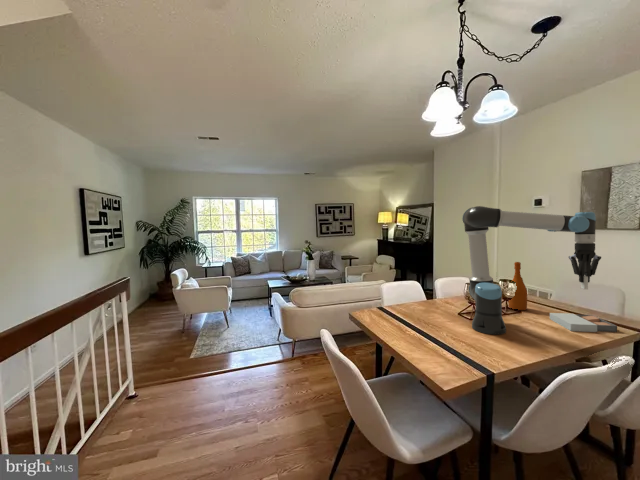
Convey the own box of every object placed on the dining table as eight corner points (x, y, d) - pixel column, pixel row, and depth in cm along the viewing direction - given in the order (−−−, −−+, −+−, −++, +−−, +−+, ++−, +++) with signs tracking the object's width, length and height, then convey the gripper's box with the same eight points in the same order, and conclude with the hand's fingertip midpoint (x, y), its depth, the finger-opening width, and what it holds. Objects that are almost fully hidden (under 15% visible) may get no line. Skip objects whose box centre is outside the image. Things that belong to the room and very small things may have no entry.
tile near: (612, 325, 135) (612, 329, 135) (605, 322, 140) (605, 326, 140) (600, 325, 137) (600, 329, 137) (593, 322, 141) (593, 325, 142)
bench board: (570, 330, 137) (570, 324, 137) (549, 318, 155) (549, 312, 154) (597, 332, 134) (597, 325, 134) (572, 319, 152) (572, 313, 152)
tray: (596, 331, 136) (596, 325, 136) (573, 319, 152) (573, 314, 152) (617, 331, 134) (617, 325, 134) (592, 320, 150) (592, 315, 150)
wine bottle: (530, 311, 169) (530, 262, 168) (512, 310, 171) (512, 263, 170) (522, 306, 179) (522, 260, 177) (505, 306, 181) (505, 261, 179)
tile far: (599, 318, 144) (599, 322, 144) (592, 315, 149) (592, 319, 149) (587, 319, 145) (588, 323, 145) (581, 316, 150) (582, 320, 150)
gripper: (574, 243, 136) (574, 290, 137) (606, 242, 133) (605, 290, 134) (564, 242, 144) (564, 286, 145) (594, 241, 141) (594, 287, 142)
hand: (584, 288), depth 139 cm, fingers closed
